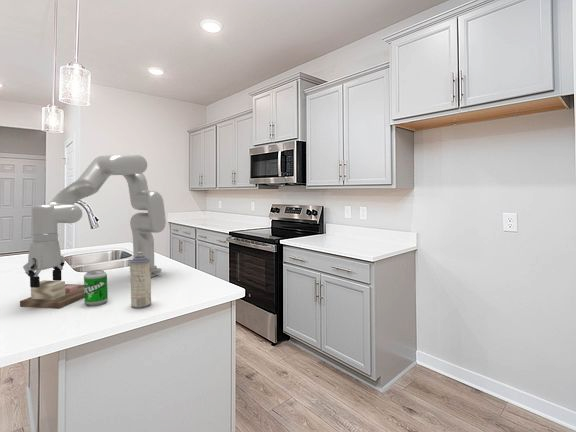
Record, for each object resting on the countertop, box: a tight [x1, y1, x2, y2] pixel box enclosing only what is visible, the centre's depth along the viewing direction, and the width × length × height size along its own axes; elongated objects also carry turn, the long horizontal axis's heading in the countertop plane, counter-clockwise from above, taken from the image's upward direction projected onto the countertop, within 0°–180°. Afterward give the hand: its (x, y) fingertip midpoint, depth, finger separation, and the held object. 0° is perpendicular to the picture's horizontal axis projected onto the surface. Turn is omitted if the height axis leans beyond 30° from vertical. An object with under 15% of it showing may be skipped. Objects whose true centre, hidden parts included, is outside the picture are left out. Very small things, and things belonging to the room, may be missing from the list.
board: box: [19, 283, 85, 309], centre depth 129 cm, size 16×22×2 cm
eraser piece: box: [65, 285, 78, 292], centre depth 132 cm, size 4×4×2 cm
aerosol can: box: [129, 252, 152, 310], centre depth 121 cm, size 7×7×20 cm
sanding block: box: [30, 279, 66, 301], centre depth 122 cm, size 9×6×6 cm, turn 84°
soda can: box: [83, 269, 109, 307], centre depth 123 cm, size 8×8×12 cm
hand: (46, 283), depth 122 cm, fingers open, 9 cm apart
